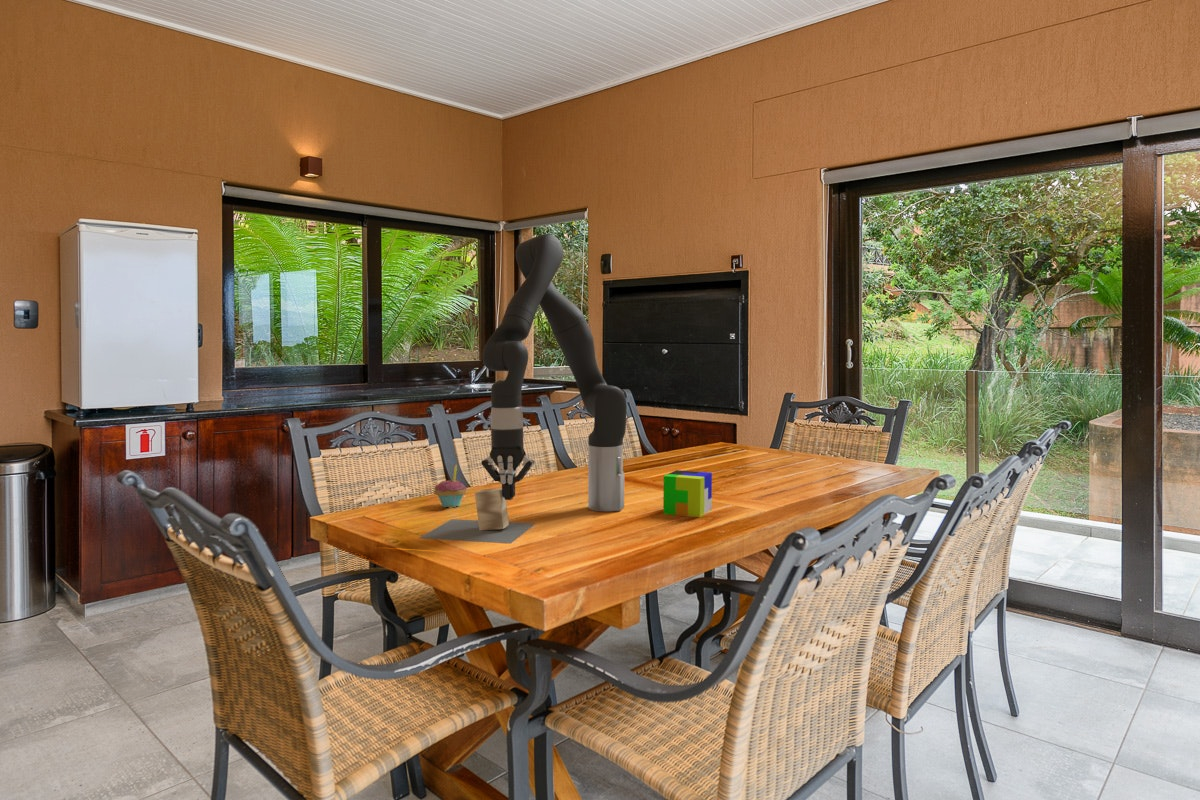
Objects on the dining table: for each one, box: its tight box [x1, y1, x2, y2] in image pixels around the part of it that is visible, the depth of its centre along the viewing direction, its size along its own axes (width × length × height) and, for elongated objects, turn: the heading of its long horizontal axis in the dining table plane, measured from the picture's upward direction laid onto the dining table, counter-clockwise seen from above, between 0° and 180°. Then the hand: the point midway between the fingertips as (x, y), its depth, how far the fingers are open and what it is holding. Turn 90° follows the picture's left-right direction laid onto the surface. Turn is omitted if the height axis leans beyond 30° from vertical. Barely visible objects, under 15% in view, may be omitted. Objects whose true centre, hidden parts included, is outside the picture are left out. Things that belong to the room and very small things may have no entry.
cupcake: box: [433, 462, 468, 508], centre depth 209 cm, size 9×8×12 cm
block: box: [474, 487, 510, 530], centre depth 182 cm, size 6×4×9 cm
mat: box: [418, 518, 537, 544], centre depth 181 cm, size 22×19×1 cm
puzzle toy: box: [662, 469, 713, 518], centre depth 202 cm, size 10×10×10 cm
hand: (508, 499), depth 181 cm, fingers closed
